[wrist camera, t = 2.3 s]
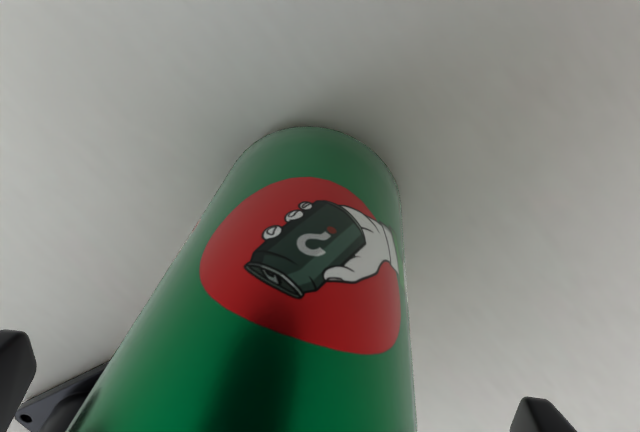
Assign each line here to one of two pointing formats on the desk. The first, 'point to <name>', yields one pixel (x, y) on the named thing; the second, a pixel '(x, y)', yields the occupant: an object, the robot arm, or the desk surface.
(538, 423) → the robot arm
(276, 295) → the soda can
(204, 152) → the desk surface
